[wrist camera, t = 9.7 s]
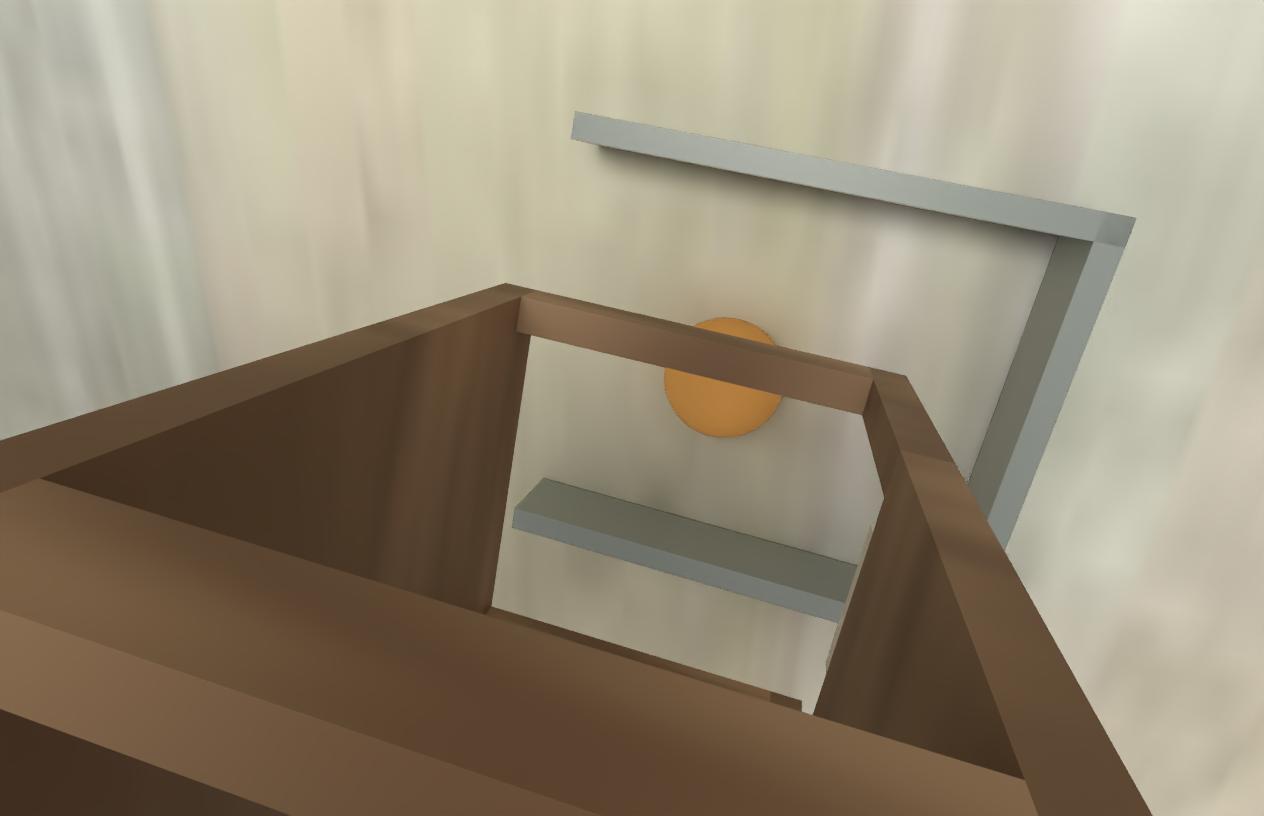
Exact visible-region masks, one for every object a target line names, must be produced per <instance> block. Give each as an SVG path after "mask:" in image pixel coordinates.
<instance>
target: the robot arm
mask: <svg viewBox="0 0 1264 816" xmlns="http://www.w3.org/2000/svg"><path fill="white" fill-rule="evenodd" d="M874 528H875V524H871V526H870V529H869V532H868V535H867V538H866V541H865V544H864V547H863V550H862V553H861V556H860V559H859V562H858V565H857V568H856V572H855V575H854V578H853V581H852V584H851V587H850V590H849V593H848V596H847V599H846V602H845V605H844V608H843V611H842V614H841V617H840V620H839V623H838V626H837V630H836V633H835V636H834V639H833V642H832V645H831V648H830V651H829V654H828V657H827V660H826V673H827V670H828V667H829V664H830V661H831V658H832V655H833V652H834V649H835V646H836V643H837V640H838V637H839V634H840V631H841V628H842V625H843V622H844V619H845V616H846V613H847V610H848V607H849V604H850V601H851V598H852V595H853V592H854V589H855V586H856V583H857V580H858V577H859V573H860V570H861V567H862V564H863V561H864V558H865V555H866V552H867V549H868V546H869V543H870V540H871V537H872V534H873V531H874Z"/></svg>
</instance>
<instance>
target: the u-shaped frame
mask: <svg viewBox="0 0 1264 816" xmlns="http://www.w3.org/2000/svg"><path fill="white" fill-rule="evenodd" d="M571 139H574V140H578V141H582V142H586V143H591V144H595V145H599V146H604V147H609V148H614V149H620V150H625V151H630V152H635V153H640V154H645V155H650V156H655V157H660V158H665V159H670V160H675V161H681V162H686V163H691V164H696V165H701V166H706V167H711V168H716V169H721V170H726V171H731V172H736V173H741V174H747V175H752V176H757V177H762V178H767V179H772V180H777V181H782V182H787V183H792V184H797V185H802V186H808V187H813V188H818V189H823V190H828V191H833V192H838V193H843V194H848V195H853V196H858V197H863V198H868V199H874V200H879V201H884V202H889V203H894V204H899V205H904V206H909V207H914V208H919V209H924V210H929V211H935V212H940V213H945V214H950V215H955V216H960V217H965V218H970V219H975V220H980V221H985V222H990V223H995V224H1001V225H1006V226H1011V227H1016V228H1021V229H1026V230H1031V231H1036V232H1041V233H1046V234H1051V235H1056V236H1059V238H1058V240H1057V243H1056V246H1055V249H1054V251H1053V254H1052V257H1051V260H1050V262H1049V265H1048V268H1047V270H1046V273H1045V276H1044V279H1043V281H1042V284H1041V287H1040V290H1039V292H1038V295H1037V298H1036V300H1035V303H1034V306H1033V309H1032V311H1031V314H1030V317H1029V320H1028V322H1027V325H1026V328H1025V330H1024V333H1023V336H1022V339H1021V341H1020V344H1019V347H1018V350H1017V352H1016V355H1015V358H1014V360H1013V363H1012V366H1011V369H1010V371H1009V374H1008V377H1007V380H1006V382H1005V385H1004V388H1003V390H1002V393H1001V396H1000V399H999V401H998V404H997V407H996V409H995V412H994V415H993V418H992V420H991V423H990V426H989V429H988V431H987V434H986V437H985V439H984V442H983V445H982V448H981V450H980V453H979V456H978V459H977V461H976V464H975V467H974V469H973V472H972V475H971V478H970V480H969V483H968V487H969V489H970V491H971V493H972V494H973V496H974V498H975V500H976V502H977V503H978V505H979V507H980V509H981V510H982V512H983V514H984V516H985V518H986V519H987V521H988V523H989V525H990V527H991V528H992V530H993V532H994V534H995V535H996V537H997V539H998V541H999V543H1000V544H1001V546H1002V548H1003V550H1004V551H1005V548H1006V546H1007V543H1008V541H1009V538H1010V536H1011V533H1012V531H1013V528H1014V526H1015V523H1016V521H1017V518H1018V516H1019V513H1020V511H1021V508H1022V506H1023V503H1024V501H1025V498H1026V496H1027V493H1028V491H1029V488H1030V485H1031V483H1032V480H1033V478H1034V475H1035V473H1036V470H1037V468H1038V465H1039V463H1040V460H1041V458H1042V455H1043V453H1044V450H1045V448H1046V445H1047V443H1048V440H1049V438H1050V435H1051V433H1052V430H1053V428H1054V425H1055V422H1056V420H1057V417H1058V415H1059V412H1060V410H1061V407H1062V405H1063V402H1064V400H1065V397H1066V395H1067V392H1068V390H1069V387H1070V385H1071V382H1072V380H1073V377H1074V375H1075V372H1076V370H1077V367H1078V365H1079V362H1080V359H1081V357H1082V354H1083V352H1084V349H1085V347H1086V344H1087V342H1088V339H1089V337H1090V334H1091V332H1092V329H1093V327H1094V324H1095V322H1096V319H1097V317H1098V314H1099V312H1100V309H1101V307H1102V304H1103V302H1104V299H1105V296H1106V294H1107V291H1108V289H1109V286H1110V284H1111V281H1112V279H1113V276H1114V274H1115V271H1116V269H1117V266H1118V264H1119V261H1120V259H1121V256H1122V254H1123V251H1124V249H1125V246H1126V244H1127V241H1128V239H1129V236H1130V233H1131V231H1132V228H1133V226H1134V223H1135V221H1136V218H1134V217H1129V216H1124V215H1119V214H1113V213H1108V212H1103V211H1097V210H1092V209H1087V208H1082V207H1076V206H1071V205H1066V204H1061V203H1055V202H1050V201H1045V200H1040V199H1034V198H1029V197H1024V196H1018V195H1013V194H1008V193H1003V192H997V191H992V190H987V189H982V188H976V187H971V186H966V185H961V184H955V183H950V182H945V181H939V180H934V179H929V178H924V177H918V176H913V175H908V174H903V173H897V172H892V171H887V170H882V169H876V168H871V167H866V166H860V165H855V164H850V163H845V162H839V161H834V160H829V159H824V158H818V157H813V156H808V155H803V154H797V153H792V152H787V151H781V150H776V149H771V148H766V147H760V146H755V145H750V144H745V143H739V142H734V141H729V140H724V139H718V138H713V137H708V136H702V135H697V134H692V133H687V132H681V131H676V130H671V129H666V128H660V127H655V126H650V125H645V124H639V123H634V122H629V121H623V120H618V119H613V118H608V117H602V116H597V115H592V114H587V113H581V112H576V111H575V115H574V122H573V129H572V135H571ZM512 528H515V529H519V530H522V531H526V532H529V533H532V534H536V535H539V536H543V537H546V538H549V539H553V540H556V541H560V542H563V543H567V544H570V545H573V546H577V547H580V548H584V549H587V550H590V551H594V552H597V553H601V554H604V555H608V556H611V557H614V558H618V559H621V560H625V561H628V562H631V563H635V564H638V565H642V566H645V567H649V568H652V569H655V570H659V571H662V572H666V573H669V574H672V575H676V576H679V577H683V578H686V579H690V580H693V581H696V582H700V583H703V584H707V585H710V586H713V587H717V588H720V589H724V590H727V591H731V592H734V593H737V594H741V595H744V596H748V597H751V598H754V599H758V600H761V601H765V602H768V603H772V604H775V605H778V606H782V607H785V608H789V609H792V610H795V611H799V612H802V613H806V614H809V615H812V616H816V617H819V618H823V619H826V620H830V621H833V622H836V623H839V620H840V617H841V614H842V611H843V608H844V605H845V602H846V599H847V596H848V593H849V590H850V587H851V584H852V581H853V578H854V575H855V572H856V568H857V566H856V565H852V564H849V563H845V562H841V561H838V560H834V559H831V558H827V557H824V556H820V555H816V554H813V553H809V552H806V551H802V550H798V549H795V548H791V547H788V546H784V545H781V544H777V543H773V542H770V541H766V540H763V539H759V538H755V537H752V536H748V535H745V534H741V533H737V532H734V531H730V530H727V529H723V528H720V527H716V526H712V525H709V524H705V523H702V522H698V521H694V520H691V519H687V518H684V517H680V516H677V515H673V514H669V513H666V512H662V511H659V510H655V509H651V508H648V507H644V506H641V505H637V504H633V503H630V502H626V501H623V500H619V499H616V498H612V497H608V496H605V495H601V494H598V493H594V492H590V491H587V490H583V489H580V488H576V487H573V486H569V485H565V484H562V483H558V482H555V481H551V480H547V479H544V478H543V479H542V480H541V481H540V482H539V483H538V484H537V485H536V486H535V487H534V489H533V490H532V491H531V492H530V493H529V494H528V495H527V496H526V497H525V498H524V499H523V500H522V501H521V502H520V503H519V504H518V505H517V506H516V507H515V511H514V517H513V524H512Z"/></svg>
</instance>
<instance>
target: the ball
mask: <svg viewBox="0 0 1264 816" xmlns="http://www.w3.org/2000/svg"><path fill="white" fill-rule="evenodd" d="M694 327H697V328H702V329H706V330H710V331H714V332H719V333H723V334H727V335H732V336H736V337H740V338H745V339H749V340H753V341H758V342H762V343H766V344H771V345H775V343H774V342H773V341H772V340H771V338H770V337H769V336H768V335H767V334H766V333H764V332H763V331H762V330H761V329H759V328H758V327H756V326H755V325H753V324H751V323H748V322H746V321H743V320H740V319H734V318H715V319H711V320H707V321H704V322H702V323H699V324H697V325H696V326H694ZM775 346H776V345H775ZM664 382H665V390H666V394H667V397H668V400H669V402H670V404H671V406H672V408H673V410H674V411H675V412H676V414H677V415H678V416H679V418H680V419H681V420H682V421H683V422H684V423H686V424H687V425H688V426H689V427H691V428H693V429H694V430H696V431H698V432H700V433H703V434H705V435H709V436H713V437H720V438H725V437H736V436H740V435H744V434H746V433H749V432H751V431H753V430H755V429H756V428H758V427H760V426H761V425H762V424H763V423H764V422H766V421H767V420H768V419H769V418H770V416H771V415H772V414H773V413H774V411H775V410H776V408H777V406H778V405H779V403H780V400H781V398H782V396H781V395H777V394H773V393H769V392H765V391H760V390H756V389H752V388H748V387H744V386H740V385H736V384H732V383H727V382H723V381H719V380H715V379H711V378H707V377H703V376H698V375H694V374H690V373H686V372H682V371H678V370H674V369H669V368H665V374H664Z"/></svg>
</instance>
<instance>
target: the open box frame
mask: <svg viewBox="0 0 1264 816" xmlns="http://www.w3.org/2000/svg"><path fill="white" fill-rule="evenodd" d="M531 335H533V336H537V337H541V338H545V339H549V340H554V341H558V342H562V343H566V344H570V345H574V346H578V347H582V348H587V349H591V350H595V351H599V352H603V353H607V354H611V355H616V356H620V357H624V358H628V359H632V360H636V361H640V362H645V363H649V364H653V365H657V366H661V367H665V368H669V369H674V370H678V371H682V372H686V373H690V374H694V375H698V376H703V377H707V378H711V379H715V380H719V381H723V382H727V383H732V384H736V385H740V386H744V387H748V388H752V389H756V390H760V391H765V392H769V393H773V394H777V395H781V396H785V397H789V398H794V399H798V400H802V401H806V402H810V403H814V404H818V405H823V406H827V407H831V408H835V409H839V410H843V411H847V412H852V413H856V414H860V415H862V416H863V419H864V423H865V427H866V431H867V434H868V438H869V442H870V446H871V449H872V453H873V457H874V461H875V464H876V468H877V472H878V476H879V479H880V483H881V487H882V491H883V494H884V501H883V504H882V507H881V510H880V513H879V516H878V519H877V522H876V525H875V528H874V531H873V534H872V537H871V540H870V543H869V546H868V549H867V552H866V555H865V558H864V561H863V564H862V567H861V570H860V573H859V577H858V580H857V583H856V586H855V589H854V592H853V595H852V598H851V601H850V604H849V607H848V610H847V613H846V616H845V619H844V622H843V625H842V628H841V631H840V634H839V637H838V640H837V643H836V646H835V649H834V652H833V655H832V658H831V661H830V664H829V667H828V670H827V673H826V677H825V680H824V683H823V686H822V689H821V692H820V695H819V698H818V701H817V704H816V707H815V710H814V713H813V715H810V714H807V713H804V712H802V701H801V700H797V699H794V698H791V697H787V696H784V695H781V694H778V693H774V692H771V691H768V690H764V689H761V688H758V687H754V686H751V685H748V684H745V683H741V682H738V681H735V680H731V679H728V678H725V677H722V676H718V675H715V674H712V673H708V672H705V671H702V670H699V669H695V668H692V667H689V666H685V665H682V664H679V663H676V662H672V661H669V660H666V659H662V658H659V657H656V656H652V655H649V654H646V653H643V652H639V651H636V650H633V649H629V648H626V647H623V646H620V645H616V644H613V643H610V642H606V641H603V640H600V639H597V638H593V637H590V636H587V635H583V634H580V633H577V632H574V631H570V630H567V629H564V628H560V627H557V626H554V625H550V624H547V623H544V622H541V621H537V620H534V619H531V618H527V617H524V616H521V615H518V614H514V613H511V612H508V611H504V610H501V609H498V608H495V607H491V605H492V598H493V591H494V584H495V577H496V570H497V563H498V557H499V550H500V543H501V536H502V529H503V522H504V515H505V508H506V502H507V495H508V488H509V481H510V474H511V467H512V460H513V454H514V447H515V440H516V433H517V426H518V419H519V412H520V405H521V399H522V392H523V385H524V378H525V371H526V364H527V357H528V351H529V344H530V337H531ZM0 816H1152V814H1151V812H1150V810H1149V808H1148V807H1147V805H1146V803H1145V801H1144V800H1143V798H1142V796H1141V794H1140V792H1139V791H1138V789H1137V787H1136V785H1135V783H1134V782H1133V780H1132V778H1131V776H1130V775H1129V773H1128V771H1127V769H1126V767H1125V766H1124V764H1123V762H1122V760H1121V759H1120V757H1119V755H1118V753H1117V751H1116V750H1115V748H1114V746H1113V744H1112V742H1111V741H1110V739H1109V737H1108V735H1107V734H1106V732H1105V730H1104V728H1103V726H1102V725H1101V723H1100V721H1099V719H1098V717H1097V716H1096V714H1095V712H1094V710H1093V709H1092V707H1091V705H1090V703H1089V701H1088V700H1087V698H1086V696H1085V694H1084V692H1083V691H1082V689H1081V687H1080V685H1079V684H1078V682H1077V680H1076V678H1075V676H1074V675H1073V673H1072V671H1071V669H1070V667H1069V666H1068V664H1067V662H1066V660H1065V659H1064V657H1063V655H1062V653H1061V651H1060V650H1059V648H1058V646H1057V644H1056V643H1055V641H1054V639H1053V637H1052V635H1051V634H1050V632H1049V630H1048V628H1047V626H1046V625H1045V623H1044V621H1043V619H1042V618H1041V616H1040V614H1039V612H1038V610H1037V609H1036V607H1035V605H1034V603H1033V601H1032V600H1031V598H1030V596H1029V594H1028V593H1027V591H1026V589H1025V587H1024V585H1023V584H1022V582H1021V580H1020V578H1019V576H1018V575H1017V573H1016V571H1015V569H1014V568H1013V566H1012V564H1011V562H1010V560H1009V559H1008V557H1007V555H1006V553H1005V551H1004V550H1003V548H1002V546H1001V544H1000V543H999V541H998V539H997V537H996V535H995V534H994V532H993V530H992V528H991V527H990V525H989V523H988V521H987V519H986V518H985V516H984V514H983V512H982V510H981V509H980V507H979V505H978V503H977V502H976V500H975V498H974V496H973V494H972V493H971V491H970V489H969V487H968V485H967V484H966V482H965V480H964V478H963V477H962V475H961V473H960V471H959V469H958V468H957V466H956V464H955V462H954V460H953V459H952V457H951V455H950V453H949V452H948V450H947V448H946V446H945V444H944V443H943V441H942V439H941V437H940V435H939V434H938V432H937V430H936V428H935V427H934V425H933V423H932V421H931V419H930V418H929V416H928V414H927V412H926V411H925V409H924V407H923V405H922V403H921V402H920V400H919V398H918V396H917V394H916V393H915V391H914V389H913V387H912V386H911V384H910V382H909V380H908V378H907V377H906V376H905V375H900V374H896V373H892V372H887V371H883V370H879V369H874V368H870V367H866V366H861V365H857V364H853V363H848V362H844V361H840V360H835V359H831V358H827V357H822V356H818V355H814V354H810V353H805V352H801V351H797V350H792V349H788V348H784V347H779V346H775V345H771V344H766V343H762V342H758V341H753V340H749V339H745V338H740V337H736V336H732V335H727V334H723V333H719V332H714V331H710V330H706V329H702V328H697V327H693V326H689V325H684V324H680V323H676V322H671V321H667V320H663V319H658V318H654V317H650V316H645V315H641V314H637V313H632V312H628V311H624V310H619V309H615V308H611V307H606V306H602V305H598V304H594V303H589V302H585V301H581V300H576V299H572V298H568V297H563V296H559V295H555V294H550V293H546V292H542V291H537V290H533V289H529V288H524V287H520V286H516V285H511V284H507V283H504V284H501V285H498V286H495V287H491V288H488V289H485V290H482V291H479V292H475V293H472V294H469V295H466V296H463V297H459V298H456V299H453V300H450V301H447V302H443V303H440V304H437V305H434V306H431V307H427V308H424V309H421V310H418V311H415V312H411V313H408V314H405V315H402V316H399V317H395V318H392V319H389V320H386V321H382V322H379V323H376V324H373V325H370V326H366V327H363V328H360V329H357V330H354V331H350V332H347V333H344V334H341V335H338V336H334V337H331V338H328V339H325V340H322V341H318V342H315V343H312V344H309V345H306V346H302V347H299V348H296V349H293V350H290V351H286V352H283V353H280V354H277V355H274V356H270V357H267V358H264V359H261V360H257V361H254V362H251V363H248V364H245V365H241V366H238V367H235V368H232V369H229V370H225V371H222V372H219V373H216V374H213V375H209V376H206V377H203V378H200V379H197V380H193V381H190V382H187V383H184V384H181V385H177V386H174V387H171V388H168V389H165V390H161V391H158V392H155V393H152V394H149V395H145V396H142V397H139V398H136V399H132V400H129V401H126V402H123V403H120V404H116V405H113V406H110V407H107V408H104V409H100V410H97V411H94V412H91V413H88V414H84V415H81V416H78V417H75V418H72V419H68V420H65V421H62V422H59V423H56V424H52V425H49V426H46V427H43V428H40V429H36V430H33V431H30V432H27V433H24V434H20V435H17V436H14V437H11V438H7V439H4V440H1V441H0Z"/></svg>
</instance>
